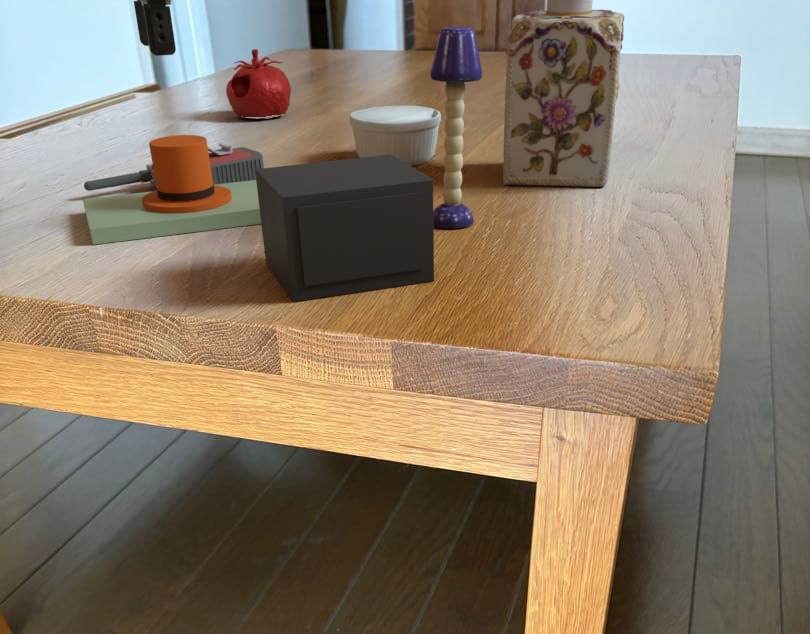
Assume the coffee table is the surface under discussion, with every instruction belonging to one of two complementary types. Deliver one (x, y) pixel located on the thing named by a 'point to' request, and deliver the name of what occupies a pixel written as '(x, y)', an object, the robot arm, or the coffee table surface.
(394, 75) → the coffee table surface
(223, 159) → the walkie-talkie
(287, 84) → the red hollow tomato
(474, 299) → the coffee table surface
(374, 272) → the box
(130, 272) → the coffee table surface
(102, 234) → the board
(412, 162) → the ramekin
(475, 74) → the toy lamp
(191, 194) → the hat
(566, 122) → the decorative jar
